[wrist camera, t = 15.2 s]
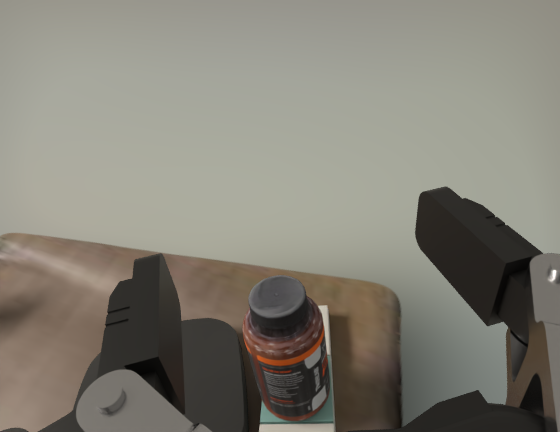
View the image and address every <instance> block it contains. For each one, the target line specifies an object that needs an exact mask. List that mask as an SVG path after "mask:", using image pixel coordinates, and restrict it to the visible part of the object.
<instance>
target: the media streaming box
mask: <svg viewBox="0 0 560 432" xmlns="http://www.w3.org/2000/svg"><path fill="white" fill-rule="evenodd" d="M181 329H182V350H183V371H184V392H185V414H183V415H184V416H185V417H186V418H187V419H188V420H189V421H190V422H192V423H193V424H195V425H196V424H197V423H201V424H203V425H204V426H206V427H207V428H208V429H209V430H211V431H212V432H249V428H248V405H247V391H246V380H245V372H244V364H243V357H242V351H241V346H240V343H239V339H238V336H237V333H236V331H235V330H234V329H233V328H232V327H231V326H230V325H229V324H227V323H225V322H223V321H221V320H217V319H212V318H202V319H192V320H184V321H181ZM100 355H101V353H100V354H99V355H98V356H97V357H96V358H95V359H94V360H93V361H92V363H91V364H90V366H89V367H88V370H87V372H86V374H85V376H84V379H83V381H82V384H81V387H80V389H79V392H78V395H77V398H76V401H75V404H74V408H73V410H74V409H76V408H77V405H78V402H79V400H80V398H81V396H82V394H83V393H84V392H85V390H86V389H87V388H88V387H89V386H90V385H91V384H92V383H93V382H94V381H95V380H96V379H97V375H98V368H99V362H100Z"/></svg>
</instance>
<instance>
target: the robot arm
mask: <svg viewBox="0 0 560 432" xmlns="http://www.w3.org/2000/svg"><path fill="white" fill-rule="evenodd" d="M415 235H416V240H417V243H418V245H419V247H420V249H421V250H422V251H423V253H424V254H425V255H426V256H427V257H428V258H429V259H430V261H431V262H432V263H433V264H434V265H435V266H436V268H437V269H438V270H439V271H440V272H441V273H442V275H443V276H444V277H445V278H446V279H447V280H448V281H449V283H451V285H452V286H453V287H454V288H455V289H456V291H457V292H458V293H459V294H460V295H461V296H462V298H463V299H464V300H465V301H466V302H467V303H468V304H469V306H470V307H471V308H472V309H473V310H474V311H475V313H476V314H477V315H478V316H479V317H480V318H481V319H482V321H483V322H484V323H485V324H486V325H487V326H490V325H493V324H497V323H500V322H504V323H505V324H506V325H507V326H508V329H507V333H506V355H507V399H506V405H503V404H492V403H487V402H486V400H485V399H484V397H483V396H482V395H481V393H480V392H479V391H478V390H477V391H474V392H471V393H467V394H464V395H461V396H458V397H455V398H452V399H448V400H446V401H442V402H439V403H437V404H435V405H434V406H433V407H432V408H430V409H428V410H427V411H426V412H424V413H423V414H421V415H420V416H418V417H417V418H416V419H414V420H413V421H412V422H410V423H408V424H407V425H406V426H404V427H402V428H399V429H386V430H358V431H348V432H560V254H554V253H547V254H543V253H542V252H541V251H540V250H538V249H537V248H536V247H535V246H533V245H532V244H531V243H529V242H528V241H527V240H526V239H524V238H523V237H522V236H521V235H519V234H518V233H517V232H515V231H514V230H513V229H511V228H510V227H509V226H508V225H505V223H504V222H503V221H502V220H500V219H499V218H498V217H495V215H494V214H493V213H492V212H490V211H489V210H488V209H486V208H485V207H484V206H483V205H481V204H478V203H476V202H473V201H471V200H468V199H466V198H464V199H462V198H461V197H460V196H458V195H457V194H456V193H455V192H454V191H452V190H451V189H450V188H448V187H441V188H437V189H433V190H429V191H425V192H422V193H421V194H420V196H419V202H418V212H417V220H416V231H415ZM107 312H108V315H107V317H106V324H105V325H106V328H105V330H104V336H103V343H102V349H101V355H100V362H99V368H98V375H97V379H96V380H95V381H94V382H93V383H92V384H91V385H90V386H89V387H88V388H87V389H86V390H85V392H84V393H83V394H82V396H81V398H80V400H79V402H78V405H77V408H76V409H74V410H73V411H72V412H71V413H69V414H67V415H66V416H64V417H63V418H61V419H59V420H57V421H56V422H54V423H52V424H50V425H49V426H47V427H45V428H44V429H42V430H40V431H38V432H212V431H211V430H209V429H208V428H207V427H206V426H204V425H203V424H201V423H197V424H196V425H195V424H193V423H192V422H190V421H189V420H188V419H187V418H186V417H185V416H184V415H183V414H185V392H184V371H183V350H182V329H181V310H180V303H179V298H178V294H177V291H176V288H175V285H174V283H173V280H172V277H171V275H170V272H169V269H168V267H167V264H166V261H165V259H164V256H163V255H162V254H161V253H160V254H156V255H152V256H148V257H143V258H139V259H135V261H134V268H133V278H132V279H128V280H124V281H120V282H119V283H118V285H117V286H116V288H115V289H114V291H113V292H112V294H111V296H110V298H109V305H108V311H107ZM0 432H28V431H27V430H25V429H22V428H10V429H6V430H3V431H0Z"/></svg>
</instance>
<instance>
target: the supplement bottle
mask: <svg viewBox="0 0 560 432" xmlns="http://www.w3.org/2000/svg"><path fill="white" fill-rule="evenodd" d="M249 306H250V308H249V310H248V311H247V313H246V315H245V318H244V321H243V337H244V341H245V345H246V348H247V352H248V355H249V359H250V362H251V366H252V369H253V372H254V376H255V379H256V383H257V386H258V390H259V393H260V396H261V398H262V401H263V403H264V405H265V406H266V408H267V409H268V410H269V411H270V412H271V413H272V414H273V415H275V416H276V417H278V418H280V419H283V420H287V421H300V420H304V419H307V418H310V417H312V416H313V415H315V414H316V413H317V412H318V411H319V410H320V409H321V408H322V407H323V406H324V404H325V403H326V401H327V399H328V396H329V392H330V376H329V366H328V357H327V348H326V339H325V330H324V323H323V317H322V313H321V311H320V309H319V307H318V306H317V304H316V303H315V302H314V301H313V300H312V299H311V298H309V297H307V296H306V291H305V288H304V286H303V285H302V283H301V282H300V281H298V280H297V279H295V278H293V277H290V276H284V275H278V276H272V277H268V278H266V279H264V280H262V281H260V282H259V283H258V284H256V285H255V286H254V287H253V289H252V290H251V292H250V295H249Z"/></svg>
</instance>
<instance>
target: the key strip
mask: <svg viewBox="0 0 560 432" xmlns="http://www.w3.org/2000/svg"><path fill="white" fill-rule="evenodd" d="M318 307H319V309H320V311H321V313H322V317H323V323H324V330H325V339H326V348H327V357H328V366H329V376H330V392H329V396H328V399H327V401H326V403H325V404H324V406H323V407H322V408H321V409H320V410H319V411H318V412H317V413H316V414H315V415H313V416H312V417H310V418H307V419H304V420H300V421H287V420H283V419H280V418H278V417H276V416H275V415H273V414H272V413H271V412H270V411H269V410H268V409H267V408H266V406H265V405H264V403H263V401H262V406H261V416H260V426H259V432H336V427H335V410H334V392H333V375H332V357H331V340H330V323H329V309H327V305H326V306H318Z"/></svg>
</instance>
